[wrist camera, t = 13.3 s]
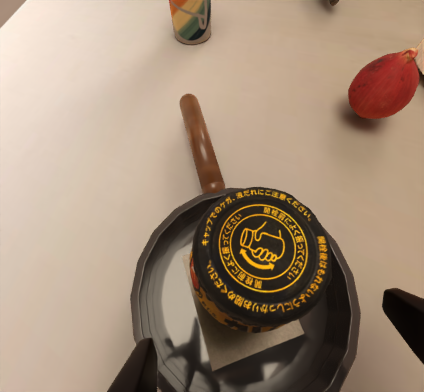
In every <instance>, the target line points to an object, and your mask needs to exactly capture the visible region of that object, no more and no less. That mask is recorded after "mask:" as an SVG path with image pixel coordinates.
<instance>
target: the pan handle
mask: <svg viewBox="0 0 424 392" xmlns="http://www.w3.org/2000/svg"><path fill="white" fill-rule="evenodd" d="M180 108H181V112H182V116H183V120H184V123H185V127H186V131H187V135H188V139H189V142H190V146H191V150H192V154H193V158H194V161H195V165H196V169H197V173H198V177H199V181H200V184H201V188H202V192H203V194H205V193H217V192H219V191H220V190H222V189H225V184H224V181H223V178H222V175H221V172H220V169H219V165H218V162H217V159H216V156H215V153H214V150H213V146H212V143H211V140H210V137H209V134H208V131H207V127H206V124H205V121H204V118H203V115H202V112H201V108H200V105H199V102H198V100H197V98H196V97H195V96H194V95H192V94H185V95H184V96H182V98H181V99H180Z"/></svg>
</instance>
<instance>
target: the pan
mask: <svg viewBox="0 0 424 392" xmlns="http://www.w3.org/2000/svg"><path fill="white" fill-rule="evenodd" d="M241 189H242V188H227V189H222V190H220V191H219V192H217V193H205V194H202V195H199V196H197V197H196V198H194V199H192V200H190V201H189V202H187V203H185V204H183V205H182V206H180V207H178V208H176V209H175V210H174V211H173V212H172V213H171V214H170V215H169V216H168V217H167V218H166V219H165V220H164V221H163V222H162V223H161V224H160V225H159V226H158V227H157V228H156V229H155V230H154V232H153V233H152V235H151V237H150V239H149V241H148V243H147V245H146V246H145V248H144V250H143V252H142V254H141V256H140V258H139V260H138V262H137V267H136V272H135V277H134V282H133V287H132V292H131V298H130V300H131V312H132V323H133V335H134V340H135V342H136V345H137V344H138V342H139V341H140V340H141V339H145V338H152V339H153V341H154V345H155V348H156V351H157V356H158V367H157V387H158V388H159V389H160V390H161V392H340V390H341V387H342V385H343V383H344V381H345V379H346V377H347V375H348V373H349V370H350V368H351V366H352V364H353V362H354V360H355V358H356V354H357V344H358V335H359V325H360V314H361V313H360V308H359V303H358V298H357V292H356V287H355V282H354V277H353V276H352V275H353V274H352V272H351V270H350V268H349V266H348V264H347V262H346V260H345V258H344V256H343V254H342V252H341V250H340V248H339V246H338V244H337V243H336V241H335V240H334V239H333V238H332V237H331V236H330V235H329V233H328V232H327V231H326V230H325V229H324V228H323V227H322V228H323V230H324V232H325V233H326V235H327V238H328V241H329V243H330V246H331V270H332V278H331V281H330V283H329V285H328V286H327V288H326V291H325V292H324V294H323V297H322V299H321V300H320V302H319V303H318V304H317V305H316V306H315V307H314V308H313V309H312V310H311V311H310V312H308V314H307V315H305V316H303V317H302V318H300V319H298V320H299V322H300V324H301V327H302V329H303V331H304V334H302V335H300V336H297V337H295V338H292V339H289V340H287V341H285V342H282V343H280V344H277V345H275V346H272V347H269V348H266V349H265V350H262V351H260V352H257V353H255V354H252V355H250V356H247V357H245V358H242V359H240V360H238V361H235V362H233V363H231V364H228V365H226V366H223V367H221V368H219V369H217V370H214V371H212V368H211V364H210V360H209V357H208V353H207V349H206V345H205V342H204V338H203V334H202V330H201V326H200V323H199V319H198V315H197V311H196V308H195V304H194V300H193V296H192V293H191V289H190V285H189V281H188V278H187V274H186V270H185V266H184V263H183V259H182V256H184V255H187V254H190V253H191V249H192V244H193V236H194V234H195V231H196V227H197V225H198V223H199V220H200V219H201V218H202V216H203V214H204V213H205V212H206V211H207V210H208V209H209V207H210V206H211V205H212V204H213V203H215V202H216V201H218V200H219V199H220V198H221V197H222V196H224V195H225V194H228V193H230V192H232V191H236V190H241Z"/></svg>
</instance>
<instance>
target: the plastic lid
mask: <svg viewBox="0 0 424 392" xmlns="http://www.w3.org/2000/svg"><path fill="white" fill-rule="evenodd" d="M417 50H418V54H417V56H416V57H415V59H416V60H415V62H417V63H416V64H417V65H418V68H420V71H422V72H423V73H422V74H423V75H424V39H423V40H422V41H421V43H420V44H419V45H418V47H417Z"/></svg>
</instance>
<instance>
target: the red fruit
mask: <svg viewBox="0 0 424 392" xmlns="http://www.w3.org/2000/svg"><path fill="white" fill-rule="evenodd" d="M417 54H418V50H417V49H416V48H409V49H406V50H404V51H402V52H399V53H392V54H387V55H385V56H382V57H380V58H378V59H376V60H374V61H372V62H371V63H369V64H367V65H366V66H365V67H364V68H362V69H361V70H360V72H359V73H358V74H357V75H356V77H355V78H354V80H353V81H352V83H351V85H350V88H349V90H348V98H349V104H350V106H351V107H352V109H353V110H354V111H355V112H356V113H357V114H358V115H359V117H361V118H371V119H379V118H385V117H388V116H391V115H393V114H395V113H397V112H398V111H400V110H401V109H403V108H404V107H405V106H406V105H407V104H408V103H409V102H410V100H411V99H412V97H413V96H414V94H415V91H416V88H417V86H418V84H419V72H418V69H417V65H416V63H415V62H414V58H415V57H416V56H417Z"/></svg>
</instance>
